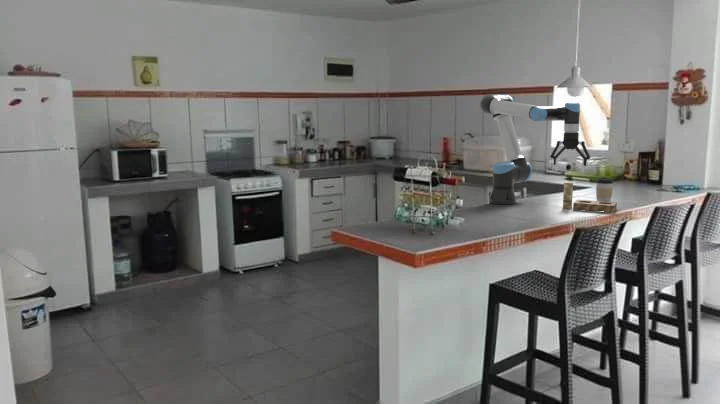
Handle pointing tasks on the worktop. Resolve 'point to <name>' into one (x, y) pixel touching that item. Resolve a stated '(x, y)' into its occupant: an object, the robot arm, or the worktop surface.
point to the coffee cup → (604, 189)
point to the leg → (567, 195)
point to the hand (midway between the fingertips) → (569, 171)
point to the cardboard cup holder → (594, 205)
